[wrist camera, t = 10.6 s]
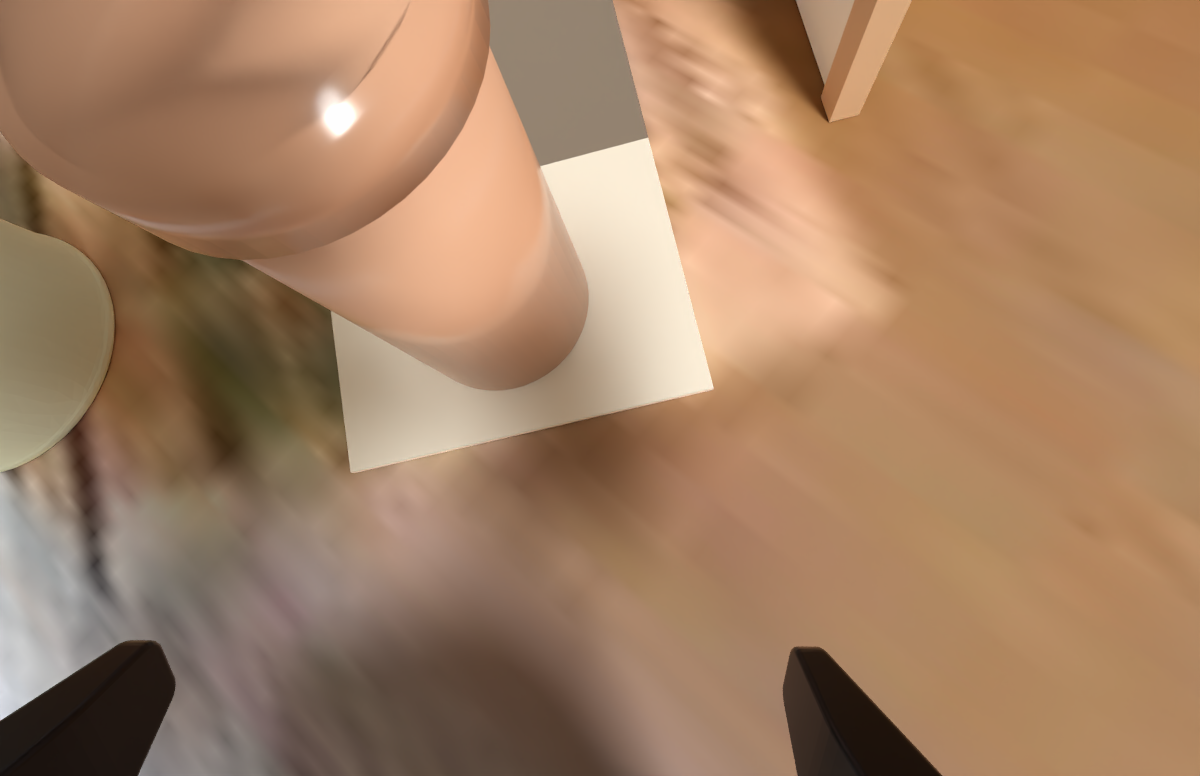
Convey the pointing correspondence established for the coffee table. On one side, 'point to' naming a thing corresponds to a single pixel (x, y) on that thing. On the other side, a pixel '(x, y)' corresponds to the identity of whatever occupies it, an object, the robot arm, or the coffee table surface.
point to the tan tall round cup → (313, 160)
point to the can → (48, 341)
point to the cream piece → (586, 236)
